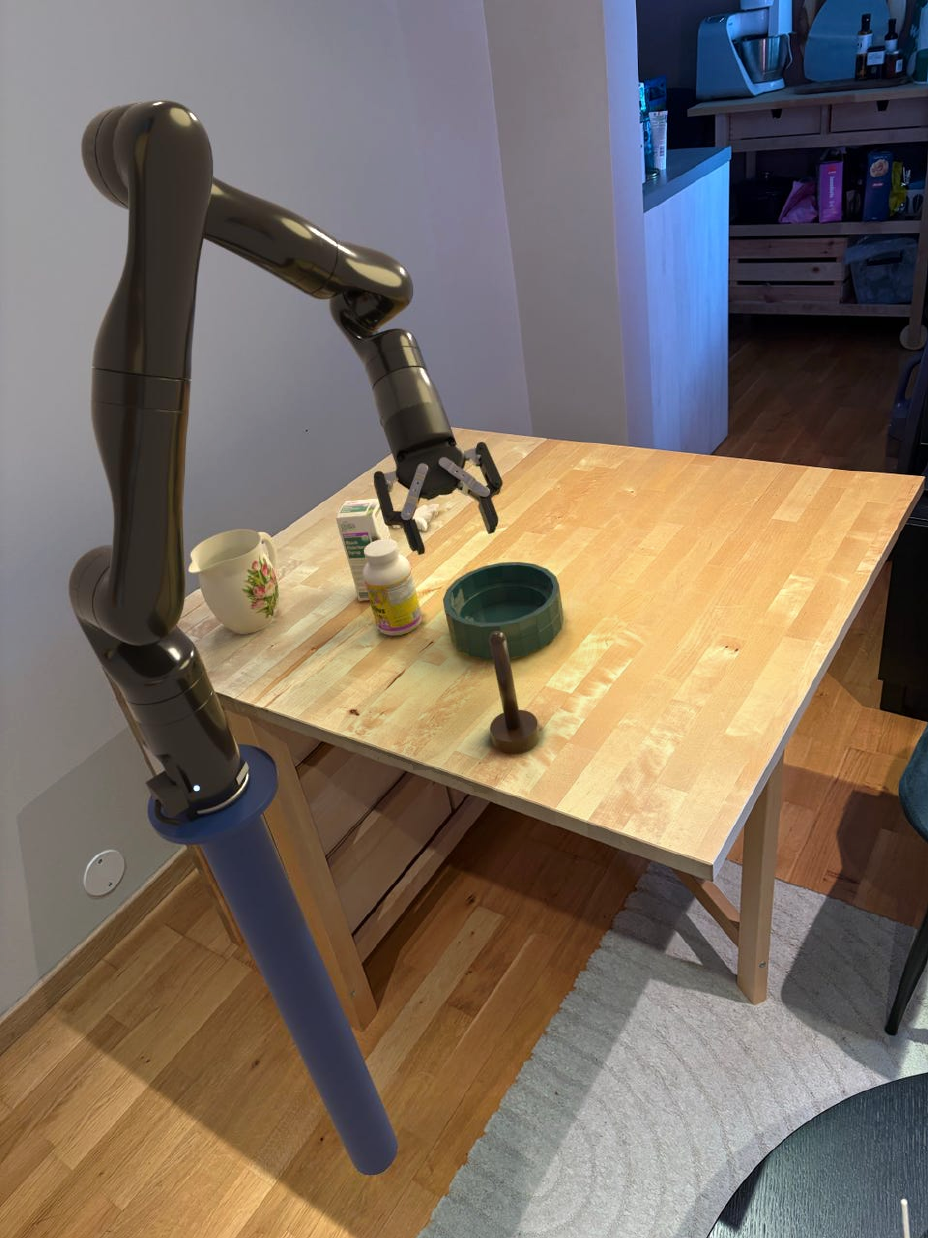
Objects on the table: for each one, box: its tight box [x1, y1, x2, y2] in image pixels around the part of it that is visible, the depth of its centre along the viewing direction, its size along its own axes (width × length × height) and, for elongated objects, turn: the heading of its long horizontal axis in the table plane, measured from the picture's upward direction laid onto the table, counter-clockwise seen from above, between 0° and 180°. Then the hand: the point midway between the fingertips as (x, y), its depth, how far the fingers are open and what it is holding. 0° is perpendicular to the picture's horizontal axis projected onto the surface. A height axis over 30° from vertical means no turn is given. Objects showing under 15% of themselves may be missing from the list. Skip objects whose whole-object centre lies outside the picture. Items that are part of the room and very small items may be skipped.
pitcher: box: [187, 528, 280, 635], centre depth 137 cm, size 11×18×14 cm, turn 158°
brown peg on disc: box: [489, 631, 541, 755], centre depth 103 cm, size 6×6×15 cm
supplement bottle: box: [363, 538, 423, 636], centre depth 129 cm, size 7×7×13 cm
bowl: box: [442, 561, 565, 661], centre depth 125 cm, size 16×16×6 cm
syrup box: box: [335, 497, 392, 602], centre depth 137 cm, size 6×6×14 cm
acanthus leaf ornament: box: [392, 503, 440, 532], centre depth 158 cm, size 8×7×2 cm
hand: (457, 541), depth 105 cm, fingers open, 8 cm apart
